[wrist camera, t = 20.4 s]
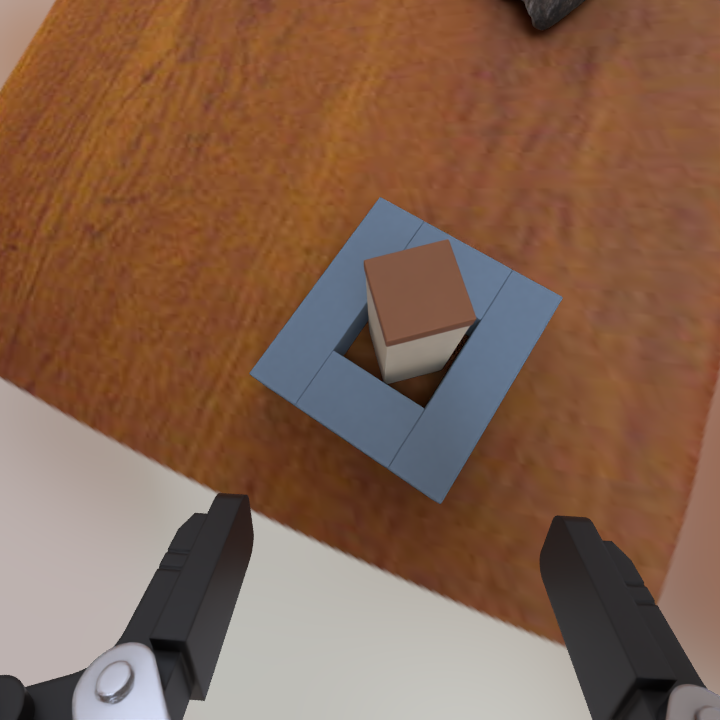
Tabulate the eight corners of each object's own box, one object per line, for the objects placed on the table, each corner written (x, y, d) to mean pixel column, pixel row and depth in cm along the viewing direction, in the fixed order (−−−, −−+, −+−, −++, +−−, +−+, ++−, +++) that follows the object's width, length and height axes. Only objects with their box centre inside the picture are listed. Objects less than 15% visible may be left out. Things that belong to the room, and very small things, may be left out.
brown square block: (383, 386, 25) (386, 342, 16) (368, 329, 26) (363, 259, 17) (442, 370, 25) (477, 318, 16) (425, 315, 26) (448, 237, 17)
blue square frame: (432, 500, 23) (440, 504, 20) (263, 384, 25) (248, 373, 22) (542, 316, 26) (563, 297, 23) (379, 224, 28) (380, 196, 25)
